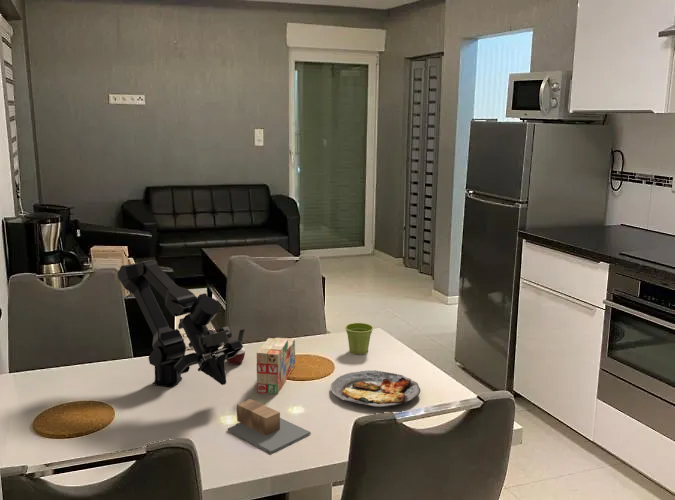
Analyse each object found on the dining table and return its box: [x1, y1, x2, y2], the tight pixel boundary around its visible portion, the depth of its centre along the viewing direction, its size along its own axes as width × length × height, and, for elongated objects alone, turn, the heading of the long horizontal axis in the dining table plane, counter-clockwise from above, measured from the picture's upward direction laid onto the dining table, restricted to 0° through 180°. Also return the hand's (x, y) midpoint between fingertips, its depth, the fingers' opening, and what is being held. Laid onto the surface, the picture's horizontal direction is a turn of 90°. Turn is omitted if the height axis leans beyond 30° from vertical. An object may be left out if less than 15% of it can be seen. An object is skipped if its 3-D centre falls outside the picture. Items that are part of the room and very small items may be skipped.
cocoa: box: [225, 328, 246, 365], centre depth 201 cm, size 10×6×12 cm, turn 16°
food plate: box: [330, 370, 421, 408], centre depth 181 cm, size 25×23×4 cm
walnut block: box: [236, 398, 281, 435], centre depth 159 cm, size 4×4×11 cm
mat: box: [227, 417, 312, 455], centre depth 157 cm, size 16×13×1 cm
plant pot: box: [344, 322, 374, 356], centre depth 213 cm, size 9×9×9 cm
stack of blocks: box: [256, 337, 296, 395], centre depth 189 cm, size 21×6×12 cm, turn 171°
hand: (224, 384), depth 167 cm, fingers closed
